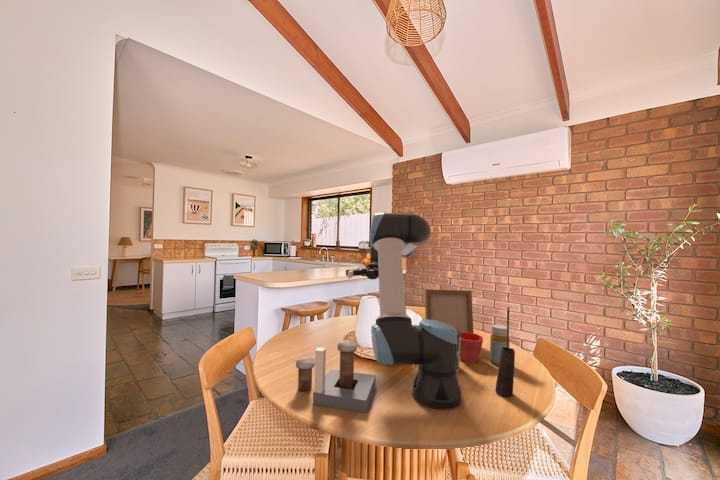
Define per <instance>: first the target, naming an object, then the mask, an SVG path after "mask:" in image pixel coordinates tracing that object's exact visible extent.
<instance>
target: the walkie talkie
mask: <svg viewBox="0 0 720 480" xmlns="http://www.w3.org/2000/svg"><path fill="white" fill-rule="evenodd" d="M506 315H507V317H506V318H507V320H506V322H507V323H506V326H507V347H502V350H501V357H500V363H499V366H498V372H497V377H496V382H495V383H496V384H495V393H496V394H497V395H499V396H501V397H504V398H509V397H513V395H514V382H515V381H514V377H515V376H514V374H515V358H516V357H515V353H516V352H515V349H514V348H511V347H510V337H509V335H510V330H509V326H510V307H509V306H507V314H506ZM508 342H509V343H508Z"/></svg>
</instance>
